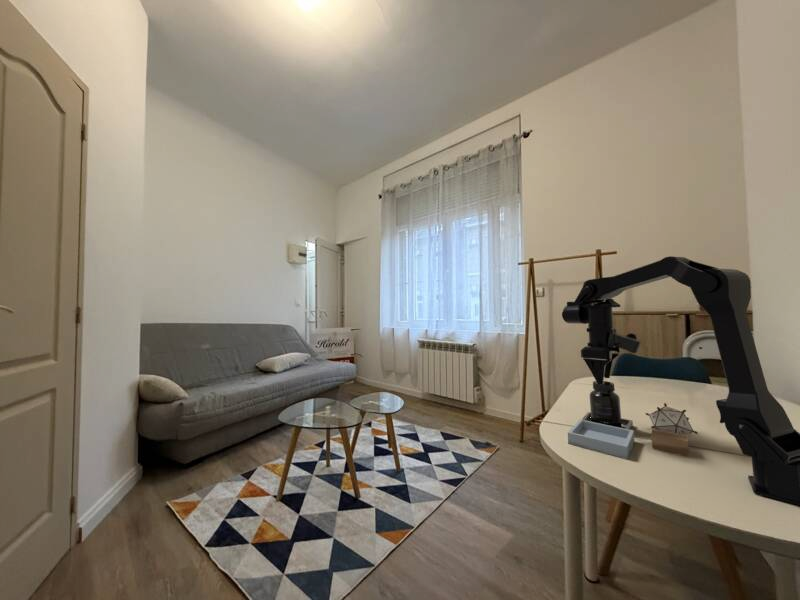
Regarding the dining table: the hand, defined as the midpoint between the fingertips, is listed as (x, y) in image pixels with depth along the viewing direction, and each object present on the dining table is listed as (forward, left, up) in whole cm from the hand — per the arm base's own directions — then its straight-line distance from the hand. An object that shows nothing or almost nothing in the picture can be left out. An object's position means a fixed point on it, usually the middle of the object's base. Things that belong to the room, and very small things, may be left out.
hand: (603, 381), depth 79 cm
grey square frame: (0, 0, -12) cm, 12 cm away
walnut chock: (-6, -13, -13) cm, 19 cm away
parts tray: (-12, -1, -12) cm, 17 cm away
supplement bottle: (0, 0, -13) cm, 13 cm away
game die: (+1, -13, -13) cm, 18 cm away
